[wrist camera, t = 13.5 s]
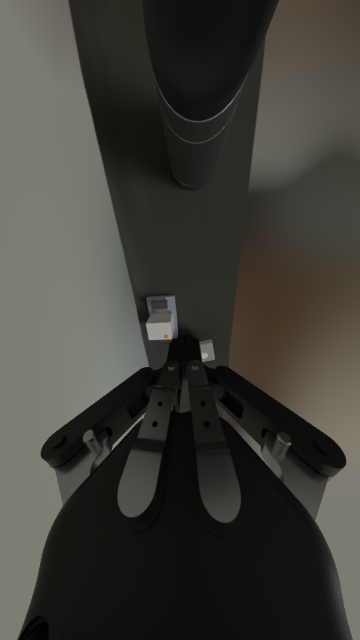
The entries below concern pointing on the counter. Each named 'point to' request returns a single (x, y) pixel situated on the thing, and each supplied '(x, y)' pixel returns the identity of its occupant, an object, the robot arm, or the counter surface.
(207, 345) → the light switch
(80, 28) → the counter surface
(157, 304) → the din rail
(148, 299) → the plate
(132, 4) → the counter surface
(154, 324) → the block
